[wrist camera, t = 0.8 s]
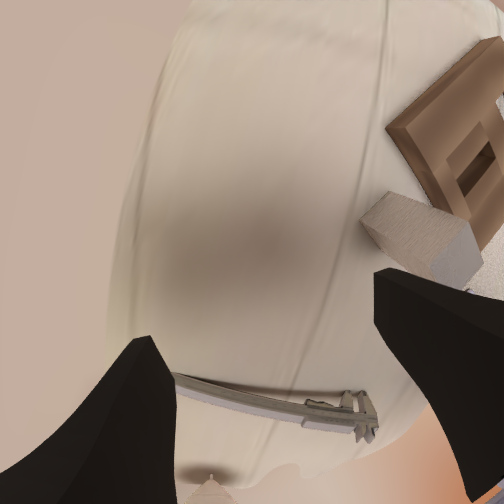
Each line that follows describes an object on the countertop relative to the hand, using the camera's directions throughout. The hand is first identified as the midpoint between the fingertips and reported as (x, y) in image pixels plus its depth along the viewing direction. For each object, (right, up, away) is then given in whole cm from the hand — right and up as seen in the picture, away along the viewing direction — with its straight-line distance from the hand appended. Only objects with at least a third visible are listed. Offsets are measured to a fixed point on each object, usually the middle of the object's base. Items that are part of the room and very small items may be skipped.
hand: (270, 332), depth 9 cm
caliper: (0, -9, +15) cm, 18 cm away
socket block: (+18, +12, +8) cm, 23 cm away
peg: (+9, +5, +10) cm, 14 cm away
